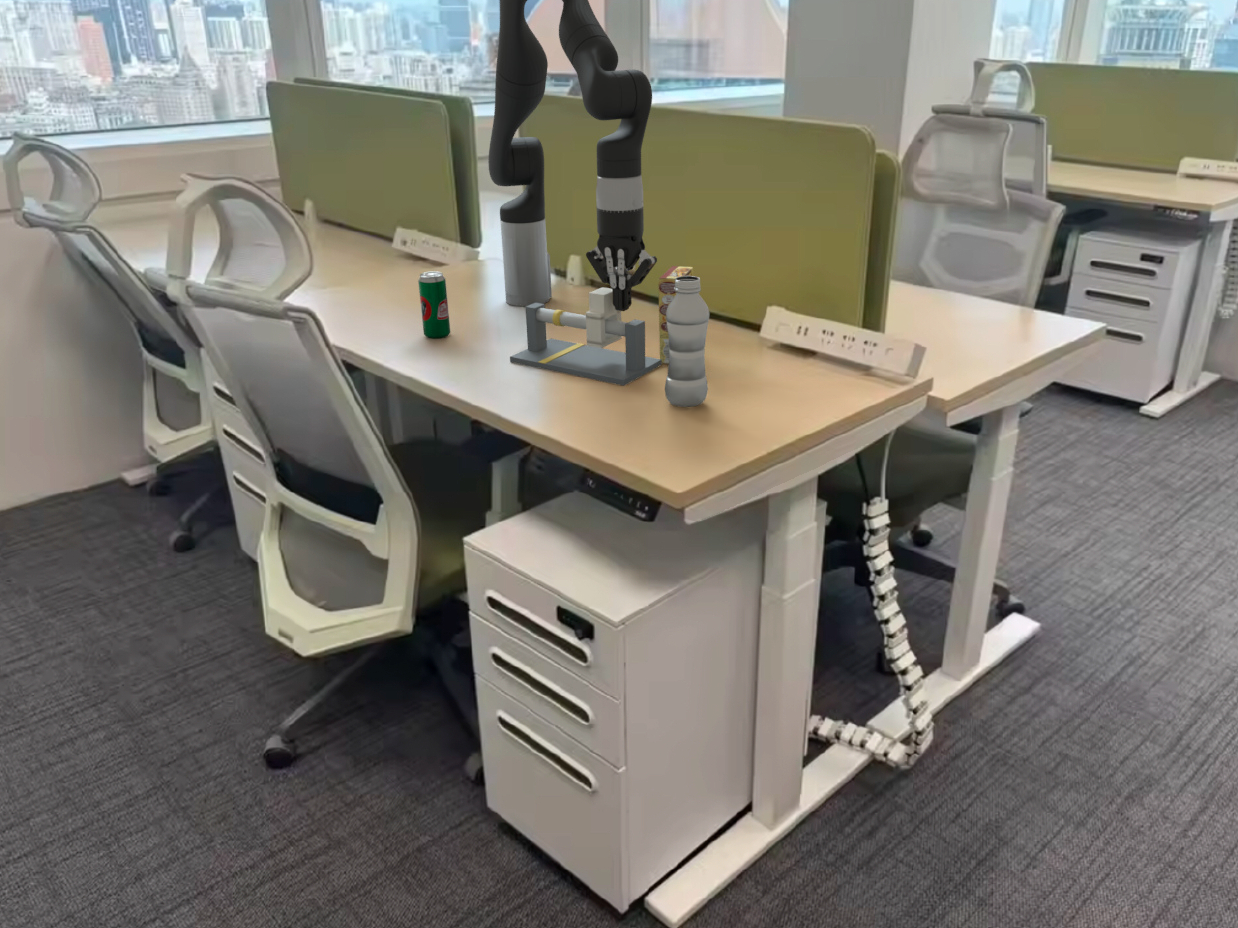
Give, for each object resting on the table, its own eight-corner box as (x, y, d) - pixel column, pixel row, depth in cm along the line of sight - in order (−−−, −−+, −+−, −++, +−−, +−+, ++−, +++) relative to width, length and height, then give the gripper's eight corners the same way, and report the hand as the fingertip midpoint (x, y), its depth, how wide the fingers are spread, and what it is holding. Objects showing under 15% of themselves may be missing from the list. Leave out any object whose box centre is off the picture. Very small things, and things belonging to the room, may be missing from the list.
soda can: (445, 340, 189) (439, 278, 184) (420, 339, 190) (413, 277, 185) (454, 332, 194) (448, 271, 189) (429, 331, 195) (423, 270, 190)
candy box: (681, 366, 173) (682, 279, 167) (658, 364, 175) (657, 277, 168) (693, 350, 181) (694, 266, 175) (671, 348, 182) (671, 265, 176)
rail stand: (551, 343, 186) (548, 296, 182) (661, 365, 174) (661, 314, 170) (510, 362, 177) (506, 312, 173) (623, 385, 165) (622, 333, 161)
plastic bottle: (662, 398, 160) (661, 274, 151) (704, 396, 160) (706, 272, 152) (667, 413, 154) (667, 285, 145) (711, 410, 154) (713, 283, 146)
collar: (607, 335, 175) (605, 285, 171) (621, 338, 173) (620, 288, 169) (586, 345, 170) (585, 294, 166) (601, 348, 168) (599, 296, 165)
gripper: (667, 204, 159) (667, 309, 167) (598, 197, 166) (601, 299, 173) (642, 212, 154) (643, 321, 161) (572, 204, 160) (576, 309, 168)
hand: (622, 309), depth 167 cm, fingers closed
